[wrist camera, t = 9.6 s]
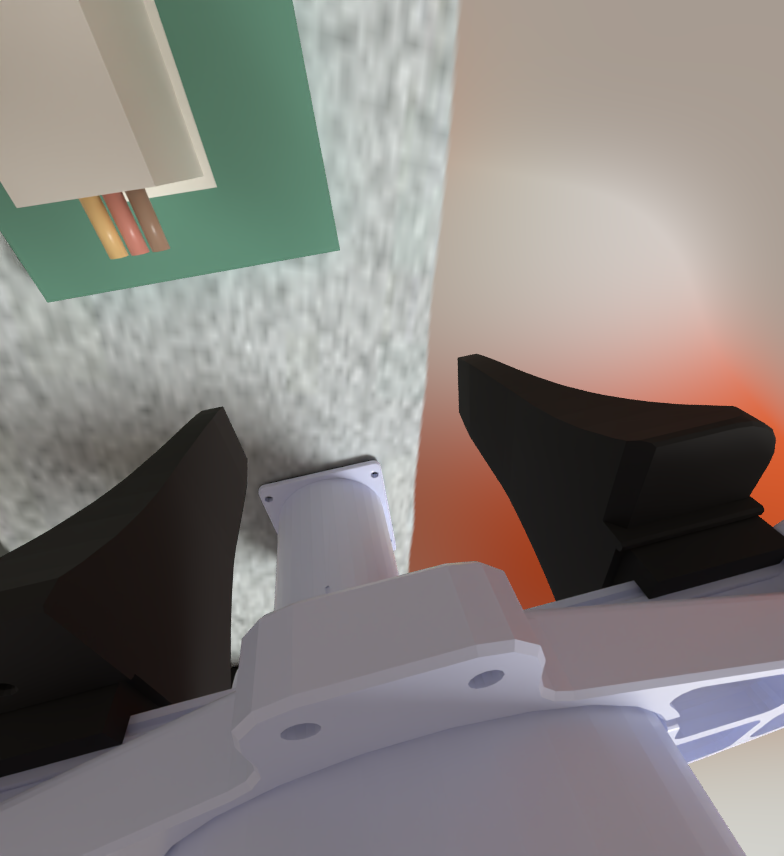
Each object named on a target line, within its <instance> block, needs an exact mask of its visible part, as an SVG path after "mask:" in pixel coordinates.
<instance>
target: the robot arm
mask: <svg viewBox="0 0 784 856" xmlns="http://www.w3.org/2000/svg"><path fill="white" fill-rule="evenodd" d="M458 390H459V413H460V415H461V418H462V420H463V422H464V425H465V427H466V429H467V431H468V433H469V435H470V437H471V439H472V440H473V442H474V443H475V445H476V446H477V448H478V450H479V451H480V453H481V455H482V456H483V458H484V459H485V461H486V462H487V464H488V465H489V467H490V468H491V470H492V471H493V473H494V474H495V476H496V478H497V479H498V481H499V482H500V484H501V485H502V487H503V488H504V490H505V492H506V494H507V495H508V497H509V499H510V501H511V503H512V505H513V507H514V509H515V511H516V513H517V515H518V517H519V519H520V521H521V523H522V525H523V527H524V529H525V531H526V534H527V536H528V538H529V540H530V542H531V544H532V547H533V549H534V551H535V553H536V555H537V558H538V560H539V562H540V565H541V567H542V569H543V571H544V574H545V576H546V578H547V581H548V583H549V585H550V588H551V590H552V593H553V595H554V598H555V600H556V601H555V602H552V603H548V604H544V605H540V606H537V607H533V608H529V609H526V610H523V609H522V607H521V605H520V603H519V601H518V599H517V597H516V595H515V593H514V591H513V589H512V587H511V585H510V583H509V581H508V579H507V577H506V575H505V573H504V571H502V570H499V569H497V568H494V567H491V566H489V565H486V564H483V563H480V562H476V561H471V562H461V563H449V564H443V565H439V566H435V567H431V568H427V569H423V570H419V571H415V572H411V573H407V574H403V575H399V572H398V568H397V564H396V559H395V555H394V551H395V549H396V543H395V538H394V533H393V527H392V522H391V517H390V512H389V507H388V502H387V496H386V491H385V486H384V481H383V476H382V470H381V466H380V463H379V462H378V461H376V460H371V461H367V462H362V463H358V464H353V465H349V466H345V467H340V468H336V469H331V470H327V471H323V472H318V473H314V474H309V475H305V476H301V477H296V478H292V479H287V480H283V481H279V482H274V483H270V484H265V485H262V486H261V487H260V488H259V492H258V494H259V497H260V499H261V501H262V503H263V505H264V507H265V509H266V512H267V514H268V516H269V518H270V520H271V522H272V524H273V526H274V528H275V530H276V533H277V535H278V547H277V565H276V584H275V602H274V611H273V612H270V613H268V614H266V615H264V616H263V617H262V618H260V619H259V620H258V621H257V622H256V624H255V625H254V626H253V627H252V628H251V629H250V630H249V631H248V633H247V634H246V635H245V636H244V637H243V638H242V642H241V651H240V659H239V668H238V670H237V672H236V675H235V678H234V681H233V685H232V689H231V606H232V584H233V567H234V558H235V551H236V545H237V539H238V534H239V528H240V523H241V518H242V512H243V506H244V501H245V495H246V488H247V457H246V455H245V453H244V451H243V449H242V447H241V444H240V442H239V440H238V438H237V436H236V434H235V431H234V429H233V427H232V425H231V423H230V421H229V418H228V416H227V414H226V412H225V410H224V408H223V407H218V408H214V409H209V410H204V411H201V412H200V413H199V414H197V415H196V416H195V417H194V418H192V419H191V420H190V421H189V422H188V423H187V424H186V425H185V426H184V427H183V428H182V429H180V430H179V431H178V432H177V433H176V434H175V435H174V436H173V437H172V438H171V439H170V440H169V441H168V442H167V443H166V444H164V445H163V446H162V447H161V448H160V449H159V450H158V451H157V452H156V453H155V454H153V455H152V456H151V457H150V458H149V459H148V460H147V461H145V462H144V463H143V464H142V465H141V466H140V467H138V468H137V469H136V470H135V471H134V472H133V473H132V474H130V475H129V476H128V477H127V478H125V479H124V480H123V481H122V482H120V483H119V484H118V485H116V486H115V487H114V488H112V489H111V490H110V491H108V492H107V493H105V494H104V495H103V496H101V497H100V498H99V499H97V500H96V501H94V502H93V503H91V504H90V505H88V506H87V507H85V508H84V509H82V510H81V511H79V512H77V513H76V514H74V515H73V516H71V517H70V518H68V519H66V520H65V521H63V522H62V523H60V524H58V525H57V526H55V527H54V528H52V529H50V530H49V531H47V532H45V533H44V534H42V535H40V536H38V537H37V538H35V539H33V540H31V541H30V542H28V543H26V544H24V545H22V546H20V547H19V548H17V549H15V550H13V551H11V552H9V553H7V554H6V555H4V556H2V557H0V856H746V855H745V853H744V851H743V850H742V848H741V847H740V845H739V844H738V842H737V841H736V839H735V837H734V836H733V834H732V833H731V831H730V829H729V828H728V826H727V825H726V823H725V822H724V820H723V818H722V817H721V815H720V814H719V813H718V811H717V809H716V807H715V806H714V804H713V803H712V801H711V800H710V798H709V797H708V795H707V793H706V792H705V790H704V789H703V787H702V786H701V784H700V782H699V781H698V780H697V778H696V776H695V775H694V773H693V772H692V770H691V768H690V767H689V765H688V764H690V763H692V762H695V761H697V760H700V759H703V758H705V757H708V756H711V755H713V754H716V753H719V752H721V751H723V750H726V749H729V748H731V747H734V746H737V745H740V744H742V743H745V742H747V741H750V740H753V739H755V738H758V737H761V736H763V735H766V734H769V733H771V732H774V731H776V730H779V729H782V728H784V520H783V521H781V522H779V523H778V524H776V525H775V526H774V527H772V526H771V525H769V524H768V523H767V522H765V521H764V520H763V519H762V518H760V517H759V516H758V515H761V514H762V513H763V512H764V508H763V506H762V505H761V504H760V503H758V502H757V501H756V500H754V499H753V498H751V497H750V494H751V492H752V491H753V489H754V488H755V486H756V484H757V483H758V481H759V479H760V478H761V476H762V474H763V473H764V471H765V470H766V468H767V466H768V464H769V463H770V460H771V458H772V456H773V454H774V449H775V443H776V438H775V435H774V432H773V429H772V428H770V427H769V426H768V425H766V424H765V423H763V422H761V421H759V420H758V419H756V418H754V417H753V416H751V415H749V414H748V413H746V412H744V411H742V410H741V409H739V408H737V407H734V406H713V405H712V406H711V405H682V404H669V403H658V402H647V401H640V400H632V399H631V400H630V399H625V398H619V397H613V396H607V395H601V394H596V393H591V392H587V391H583V390H579V389H575V388H571V387H567V386H564V385H560V384H557V383H554V382H551V381H548V380H545V379H542V378H539V377H536V376H533V375H531V374H528V373H525V372H523V371H520V370H518V369H515V368H513V367H510V366H508V365H505V364H503V363H501V362H498V361H496V360H493V359H491V358H488V357H485V356H482V355H479V354H473V355H468V356H464V357H459V358H458ZM373 472H377V473H375V474H372V473H373ZM268 496H270V497H271V498H267V497H268Z"/></svg>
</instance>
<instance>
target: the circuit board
mask: <svg viewBox="0 0 784 856" xmlns="http://www.w3.org/2000/svg"><path fill="white" fill-rule="evenodd" d="M143 1H144V4H145V7H146V10H147V13H148V16H149V19H150V21H151V24H152V27H153V30H154V33H155V36H156V39H157V42H158V45H159V47H160V50H161V53H162V56H163V59H164V62H165V65H166V68H167V70H168V73H169V76H170V79H171V82H172V85H173V88H174V91H175V94H176V96H177V99H178V102H179V105H180V108H181V111H182V114H183V117H184V119H185V122H186V125H187V128H188V131H189V134H190V137H191V140H192V143H193V145H194V148H195V151H196V154H197V157H198V160H199V163H200V166H201V168H202V171H203V174H204V176H203V177H199V178H194V179H189V180H184V181H180V182H175V183H170V184H165V185H161V186H156V187H150V188H145V190H146V193H147V195H148V197H149V199H150V202H151V204H152V206H153V209H154V211H155V213H156V216H157V218H158V220H159V223H160V225H161V227H162V230H163V232H164V234H165V237H166V239H167V241H168V244H169V246H170V249H168V250H164V251H159V252H152V250H151V248H150V245H149V243H148V241H147V239H146V237H145V234H144V232H143V230H142V228H141V226H140V224H139V221H138V219H137V217H136V215H135V213H134V210H133V208H132V206H131V204H130V202H129V200H128V197H127V195H126V193H125V191H124V192H122V193H123V195H124V197H125V199H126V201H127V203H128V206H129V208H130V210H131V212H132V214H133V216H134V219H135V221H136V223H137V225H138V227H139V229H140V232H141V234H142V236H143V238H144V240H145V242H146V245H147V247H148V249H149V251H150V252H148V253H145V254H141V255H136V256H131V254H130V252H129V250H128V247H127V245H126V243H125V241H124V239H123V237H122V235H121V233H120V231H119V229H118V227H117V225H116V223H115V221H114V219H113V217H112V215H111V213H110V211H109V209H108V207H107V205H106V203H105V201H104V199H103V197H102V195H99V196H100V198H101V200H102V202H103V204H104V206H105V208H106V210H107V212H108V214H109V216H110V218H111V220H112V222H113V224H114V226H115V228H116V230H117V232H118V234H119V236H120V238H121V240H122V242H123V244H124V246H125V248H126V250H127V252H128V254H129V255H128V256H126V257H122V258H118V259H110V258H109V256H108V254H107V252H106V250H105V248H104V246H103V244H102V243H101V241H100V239H99V237H98V235H97V233H96V231H95V229H94V227H93V225H92V224H91V222H90V220H89V218H88V216H87V214H86V212H85V210H84V208H83V206H82V204H81V203H80V201H79V199H72V200H66V201H60V202H53V203H47V204H40V205H34V206H27V207H21V208H16V206H15V205H14V203H13V201H12V200H11V198H10V196H9V195H8V193H7V192H6V190H5V188H4V187H3V185H2V183H1V182H0V231H1V233H2V234H3V236H4V237H5V239H6V240H7V242H8V243H9V245H10V246H11V248H12V249H13V251H14V252H15V254H16V255H17V257H18V258H19V260H20V261H21V263H22V265H23V266H24V268H25V269H26V271H27V272H28V274H29V275H30V277H31V278H32V280H33V281H34V283H35V284H36V286H37V287H38V289H39V290H40V292H41V293H42V295H43V296H44V298H45V299H46V301H47V302H54V301H59V300H65V299H70V298H76V297H81V296H87V295H93V294H98V293H104V292H109V291H115V290H121V289H126V288H132V287H137V286H143V285H149V284H154V283H160V282H165V281H171V280H176V279H182V278H188V277H193V276H199V275H204V274H210V273H216V272H221V271H227V270H232V269H238V268H243V267H249V266H255V265H260V264H266V263H271V262H277V261H283V260H288V259H294V258H299V257H305V256H310V255H316V254H322V253H327V252H333V251H338V250H340V247H339V242H338V237H337V232H336V226H335V221H334V216H333V211H332V206H331V200H330V195H329V190H328V185H327V179H326V174H325V169H324V164H323V159H322V153H321V148H320V143H319V138H318V132H317V127H316V122H315V117H314V112H313V106H312V101H311V96H310V91H309V85H308V80H307V75H306V70H305V65H304V59H303V54H302V49H301V44H300V38H299V33H298V28H297V23H296V18H295V12H294V7H293V2H292V0H143Z"/></svg>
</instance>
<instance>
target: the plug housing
mask: <svg viewBox="0 0 784 856" xmlns="http://www.w3.org/2000/svg"><path fill="white" fill-rule="evenodd" d="M203 176H204V174H203V171H202V168H201V166H200V163H199V160H198V157H197V154H196V151H195V148H194V145H193V143H192V140H191V137H190V134H189V131H188V128H187V125H186V122H185V119H184V117H183V114H182V111H181V108H180V105H179V102H178V99H177V96H176V94H175V91H174V88H173V85H172V82H171V79H170V76H169V73H168V70H167V68H166V65H165V62H164V59H163V56H162V53H161V50H160V47H159V45H158V42H157V39H156V36H155V33H154V30H153V27H152V24H151V21H150V19H149V16H148V13H147V10H146V7H145V4H144V1H143V0H0V182H1V183H2V185H3V187H4V188H5V190H6V192H7V193H8V195H9V196H10V198H11V200H12V201H13V203H14V205H15V206H16V208H21V207H27V206H34V205H40V204H47V203H53V202H60V201H66V200H72V199H79V201H80V203H81V204H82V206H83V208H84V210H85V212H86V214H87V216H88V218H89V220H90V222H91V224H92V225H93V227H94V229H95V231H96V233H97V235H98V237H99V239H100V241H101V243H102V244H103V246H104V248H105V250H106V252H107V254H108V256H109V258H110V259H118V258H122V257H126V256H128V255H129V254H128V252H127V250H126V248H125V246H124V244H123V242H122V240H121V238H120V236H119V234H118V232H117V230H116V228H115V226H114V224H113V222H112V220H111V218H110V216H109V214H108V212H107V210H106V208H105V206H104V204H103V202H102V200H101V198H100V196H99V195H102V197H103V199H104V201H105V203H106V205H107V207H108V209H109V211H110V213H111V215H112V217H113V219H114V221H115V223H116V225H117V227H118V229H119V231H120V233H121V235H122V237H123V239H124V241H125V243H126V245H127V247H128V250H129V252H130V254H131V256H136V255H141V254H145V253H148V252H150V251H149V249H148V247H147V245H146V242H145V240H144V238H143V236H142V234H141V232H140V229H139V227H138V225H137V223H136V221H135V219H134V216H133V214H132V212H131V210H130V208H129V206H128V203H127V201H126V199H125V197H124V195H123V193H122V192H124V191H125V193H126V195H127V197H128V200H129V202H130V204H131V206H132V208H133V210H134V213H135V215H136V217H137V219H138V221H139V224H140V226H141V228H142V230H143V232H144V234H145V237H146V239H147V241H148V243H149V245H150V248H151V250H152V252H159V251H164V250H168V249H170V246H169V244H168V241H167V239H166V237H165V234H164V232H163V230H162V227H161V225H160V223H159V220H158V218H157V216H156V213H155V211H154V209H153V206H152V204H151V202H150V199H149V197H148V195H147V193H146V190H145V188H150V187H156V186H161V185H165V184H170V183H175V182H180V181H184V180H189V179H194V178H199V177H203Z"/></svg>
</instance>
